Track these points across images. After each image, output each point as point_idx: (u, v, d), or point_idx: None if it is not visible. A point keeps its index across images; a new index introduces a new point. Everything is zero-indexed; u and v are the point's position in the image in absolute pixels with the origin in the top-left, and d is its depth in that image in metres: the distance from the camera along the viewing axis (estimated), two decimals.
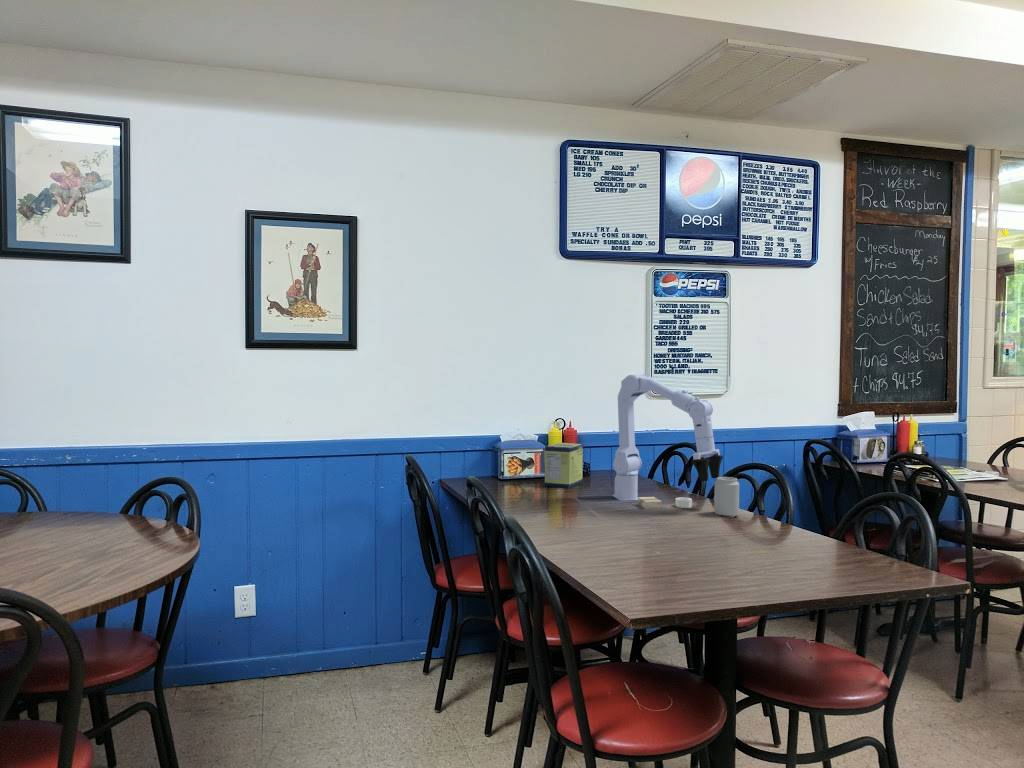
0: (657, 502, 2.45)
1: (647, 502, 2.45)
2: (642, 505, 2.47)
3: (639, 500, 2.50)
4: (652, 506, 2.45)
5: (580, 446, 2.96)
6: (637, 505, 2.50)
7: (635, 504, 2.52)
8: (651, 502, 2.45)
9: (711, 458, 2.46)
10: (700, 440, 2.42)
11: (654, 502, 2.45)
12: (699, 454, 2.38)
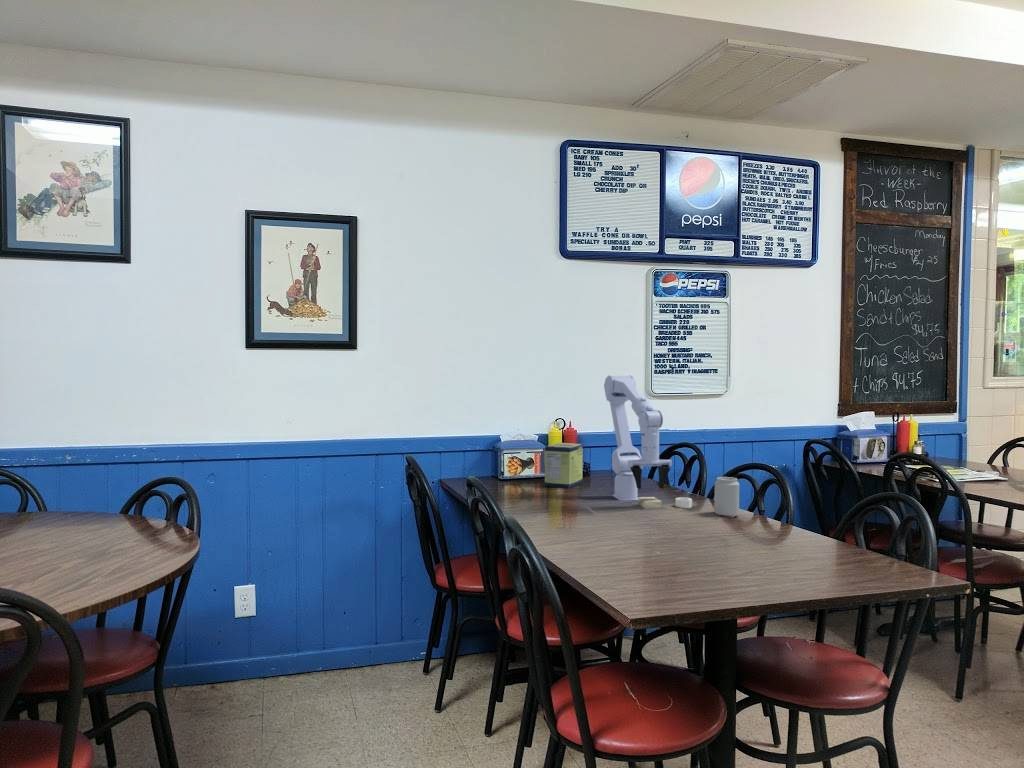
0: (657, 502, 2.45)
1: (647, 502, 2.45)
2: (642, 505, 2.47)
3: (639, 500, 2.50)
4: (652, 506, 2.45)
5: (580, 446, 2.96)
6: (637, 505, 2.50)
7: (635, 504, 2.52)
8: (651, 502, 2.45)
9: (660, 468, 2.49)
10: (642, 449, 2.47)
11: (654, 502, 2.45)
12: (631, 462, 2.46)
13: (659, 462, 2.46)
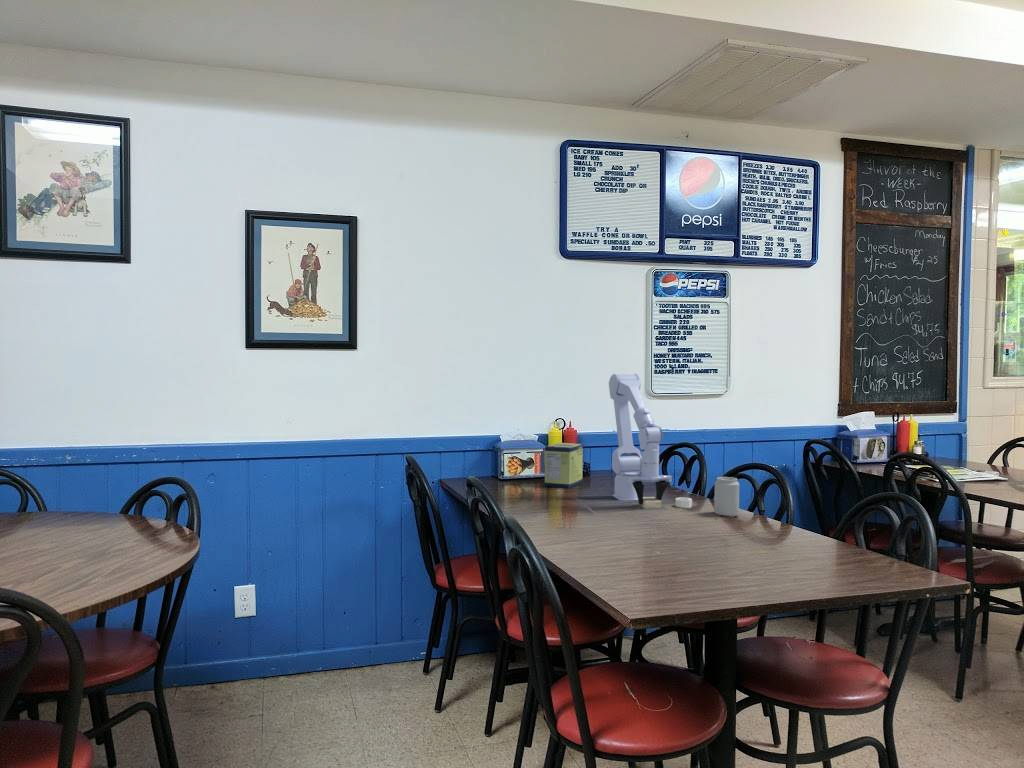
0: (657, 502, 2.45)
1: (647, 502, 2.45)
2: (642, 505, 2.47)
3: None
4: (652, 506, 2.45)
5: (580, 446, 2.96)
6: (637, 505, 2.50)
7: (635, 504, 2.52)
8: (651, 502, 2.45)
9: (657, 483, 2.49)
10: (641, 464, 2.48)
11: (654, 502, 2.45)
12: (631, 478, 2.46)
13: (659, 478, 2.46)
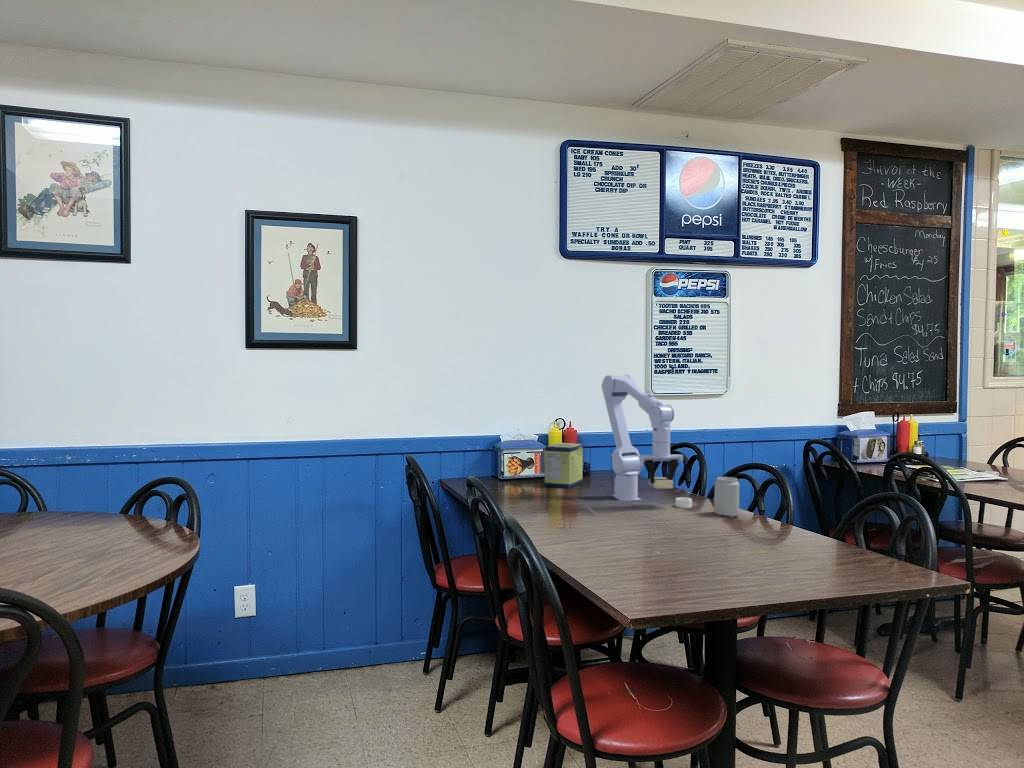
0: (668, 482, 2.45)
1: (658, 482, 2.44)
2: (653, 485, 2.47)
3: None
4: (664, 486, 2.45)
5: (580, 446, 2.96)
6: (637, 505, 2.50)
7: (635, 504, 2.52)
8: (662, 482, 2.44)
9: (669, 462, 2.49)
10: (653, 443, 2.48)
11: (665, 482, 2.45)
12: (642, 457, 2.46)
13: (670, 457, 2.46)
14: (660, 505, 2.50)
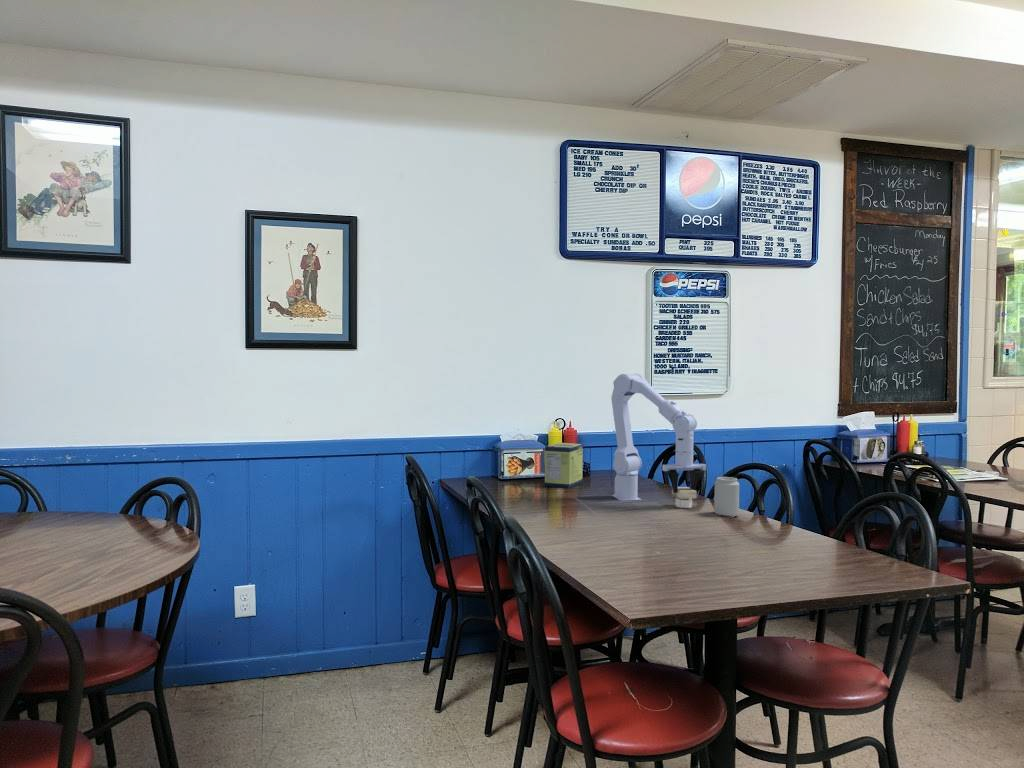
0: (692, 492, 2.46)
1: (682, 492, 2.45)
2: (677, 495, 2.48)
3: None
4: (687, 496, 2.45)
5: (580, 446, 2.96)
6: (637, 505, 2.50)
7: (635, 504, 2.52)
8: (686, 492, 2.45)
9: (692, 472, 2.50)
10: (676, 453, 2.48)
11: (689, 492, 2.45)
12: (666, 466, 2.47)
13: (693, 466, 2.47)
14: (660, 505, 2.50)
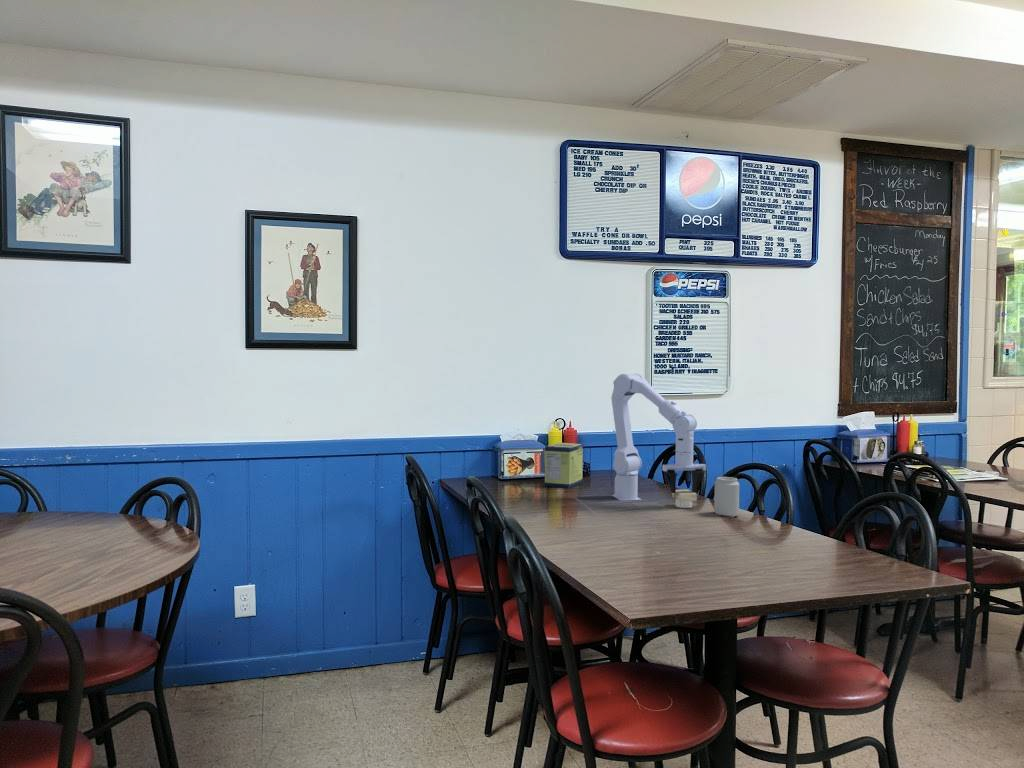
0: (692, 495, 2.46)
1: (682, 495, 2.45)
2: (677, 497, 2.48)
3: (674, 493, 2.51)
4: (688, 499, 2.45)
5: (580, 446, 2.96)
6: (637, 505, 2.50)
7: (635, 504, 2.52)
8: (686, 495, 2.45)
9: (693, 472, 2.50)
10: (676, 453, 2.48)
11: (689, 495, 2.45)
12: (666, 467, 2.47)
13: (693, 466, 2.47)
14: (660, 505, 2.50)
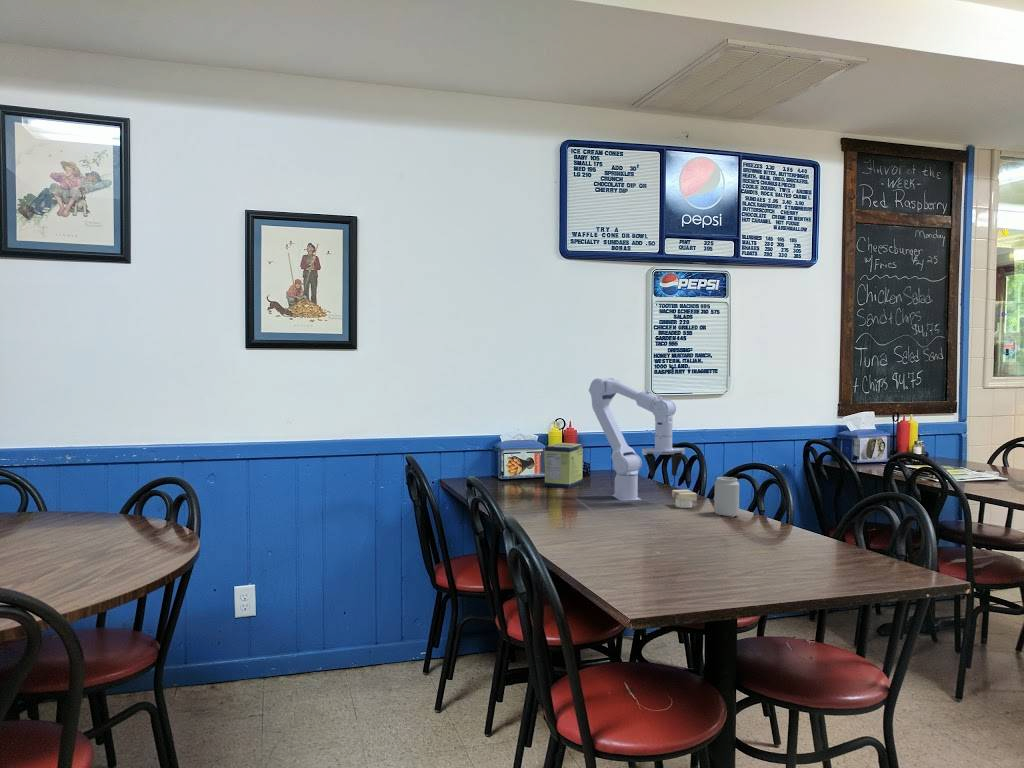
0: (692, 495, 2.46)
1: (682, 495, 2.45)
2: (677, 497, 2.48)
3: (674, 493, 2.51)
4: (688, 499, 2.45)
5: (580, 446, 2.96)
6: (637, 505, 2.50)
7: (635, 504, 2.52)
8: (686, 495, 2.45)
9: (673, 456, 2.55)
10: (655, 437, 2.53)
11: (689, 495, 2.45)
12: (645, 450, 2.52)
13: (672, 450, 2.52)
14: (660, 505, 2.50)
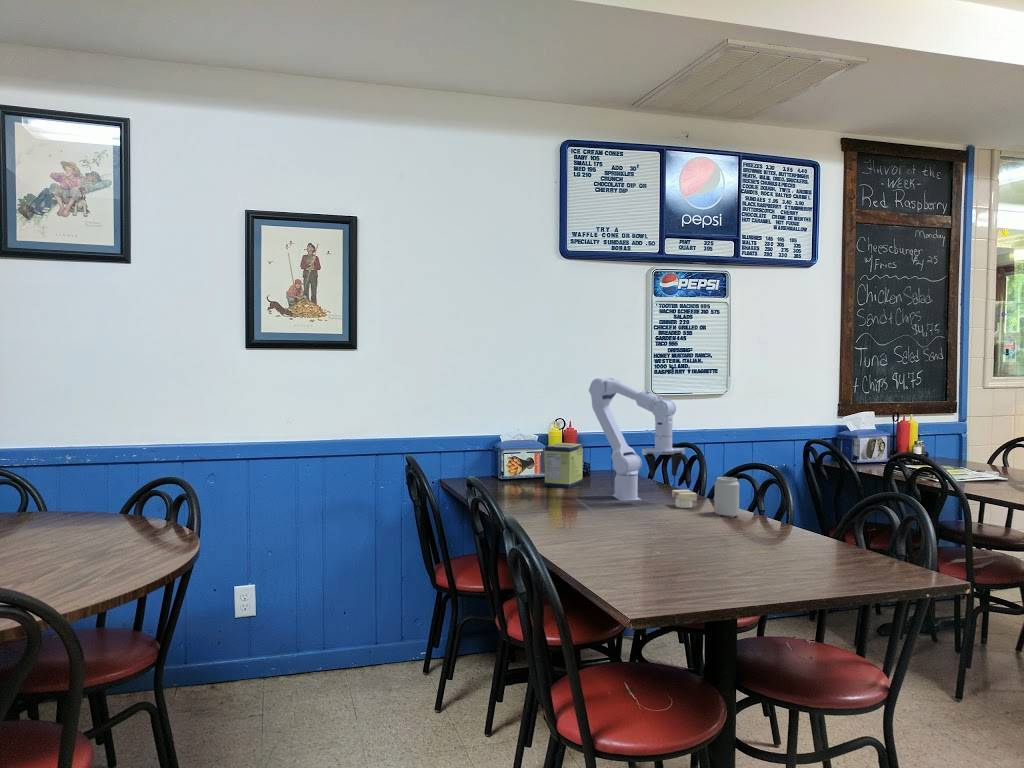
0: (692, 495, 2.46)
1: (682, 495, 2.45)
2: (677, 497, 2.48)
3: (674, 493, 2.51)
4: (688, 499, 2.45)
5: (580, 446, 2.96)
6: (637, 505, 2.50)
7: (635, 504, 2.52)
8: (686, 495, 2.45)
9: (673, 456, 2.55)
10: (655, 437, 2.53)
11: (689, 495, 2.45)
12: (645, 450, 2.52)
13: (672, 450, 2.52)
14: (660, 505, 2.50)
